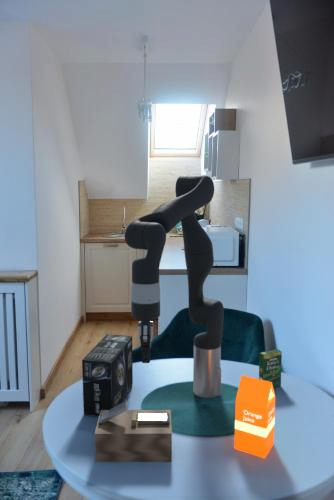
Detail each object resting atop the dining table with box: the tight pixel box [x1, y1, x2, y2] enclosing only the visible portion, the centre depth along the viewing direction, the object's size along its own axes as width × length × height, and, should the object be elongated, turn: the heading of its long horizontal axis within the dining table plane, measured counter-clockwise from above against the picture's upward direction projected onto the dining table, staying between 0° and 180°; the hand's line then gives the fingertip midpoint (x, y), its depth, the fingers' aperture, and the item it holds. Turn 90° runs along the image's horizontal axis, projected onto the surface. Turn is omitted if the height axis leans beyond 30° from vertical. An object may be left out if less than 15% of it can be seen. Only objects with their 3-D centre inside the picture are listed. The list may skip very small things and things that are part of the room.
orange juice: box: [233, 374, 276, 459], centre depth 121 cm, size 8×9×20 cm
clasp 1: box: [97, 400, 129, 425], centre depth 120 cm, size 8×4×1 cm, turn 89°
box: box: [81, 333, 134, 417], centre depth 148 cm, size 23×10×19 cm, turn 168°
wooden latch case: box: [94, 409, 173, 463], centre depth 121 cm, size 20×12×10 cm, turn 91°
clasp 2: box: [138, 413, 170, 425], centre depth 121 cm, size 9×4×1 cm, turn 91°
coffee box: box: [258, 348, 283, 388], centre depth 158 cm, size 8×3×13 cm, turn 112°
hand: (145, 361), depth 118 cm, fingers closed
